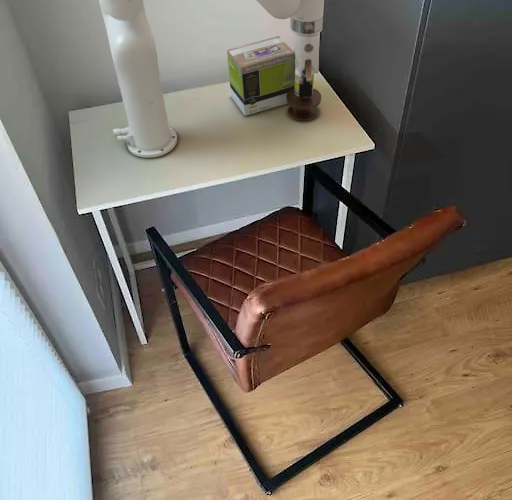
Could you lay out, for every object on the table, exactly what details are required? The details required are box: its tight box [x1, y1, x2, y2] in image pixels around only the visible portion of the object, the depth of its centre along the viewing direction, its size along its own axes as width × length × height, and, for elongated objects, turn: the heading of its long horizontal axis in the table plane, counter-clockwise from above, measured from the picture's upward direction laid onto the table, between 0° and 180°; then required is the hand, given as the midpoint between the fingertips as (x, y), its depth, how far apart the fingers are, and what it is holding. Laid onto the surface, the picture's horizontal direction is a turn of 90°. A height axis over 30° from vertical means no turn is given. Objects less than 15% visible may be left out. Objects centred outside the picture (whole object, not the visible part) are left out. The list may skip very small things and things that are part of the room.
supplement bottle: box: [295, 65, 315, 96], centre depth 145 cm, size 5×5×8 cm
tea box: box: [226, 35, 296, 117], centre depth 151 cm, size 15×10×15 cm
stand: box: [286, 87, 322, 123], centre depth 151 cm, size 9×9×5 cm
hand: (303, 89), depth 147 cm, fingers closed on supplement bottle, 4 cm apart
